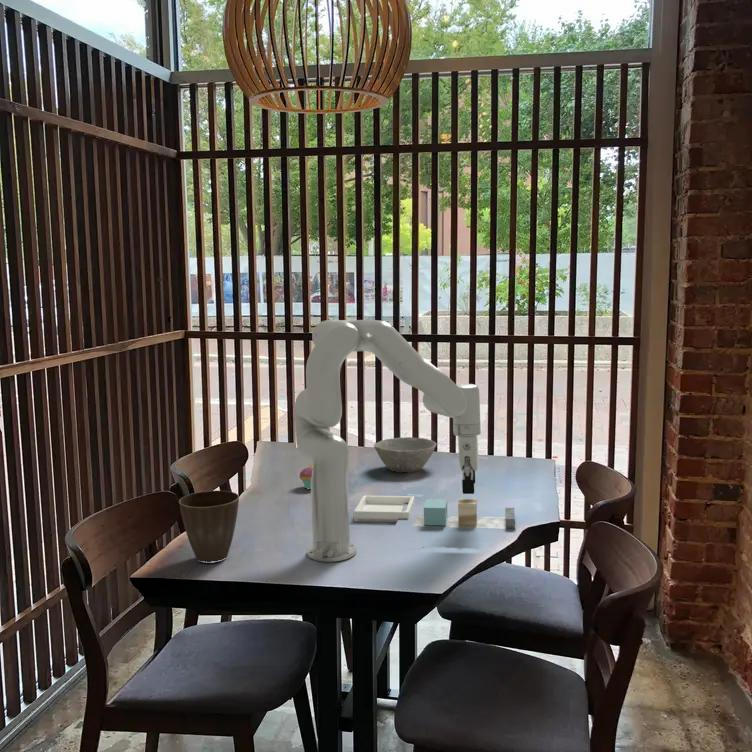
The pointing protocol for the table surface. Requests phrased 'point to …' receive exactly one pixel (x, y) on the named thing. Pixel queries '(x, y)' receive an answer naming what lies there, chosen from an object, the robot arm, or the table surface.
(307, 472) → the cupcake
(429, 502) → the teal block
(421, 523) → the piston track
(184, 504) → the plant pot
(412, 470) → the ceramic bowl
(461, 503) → the wooden block
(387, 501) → the tray
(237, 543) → the table surface
